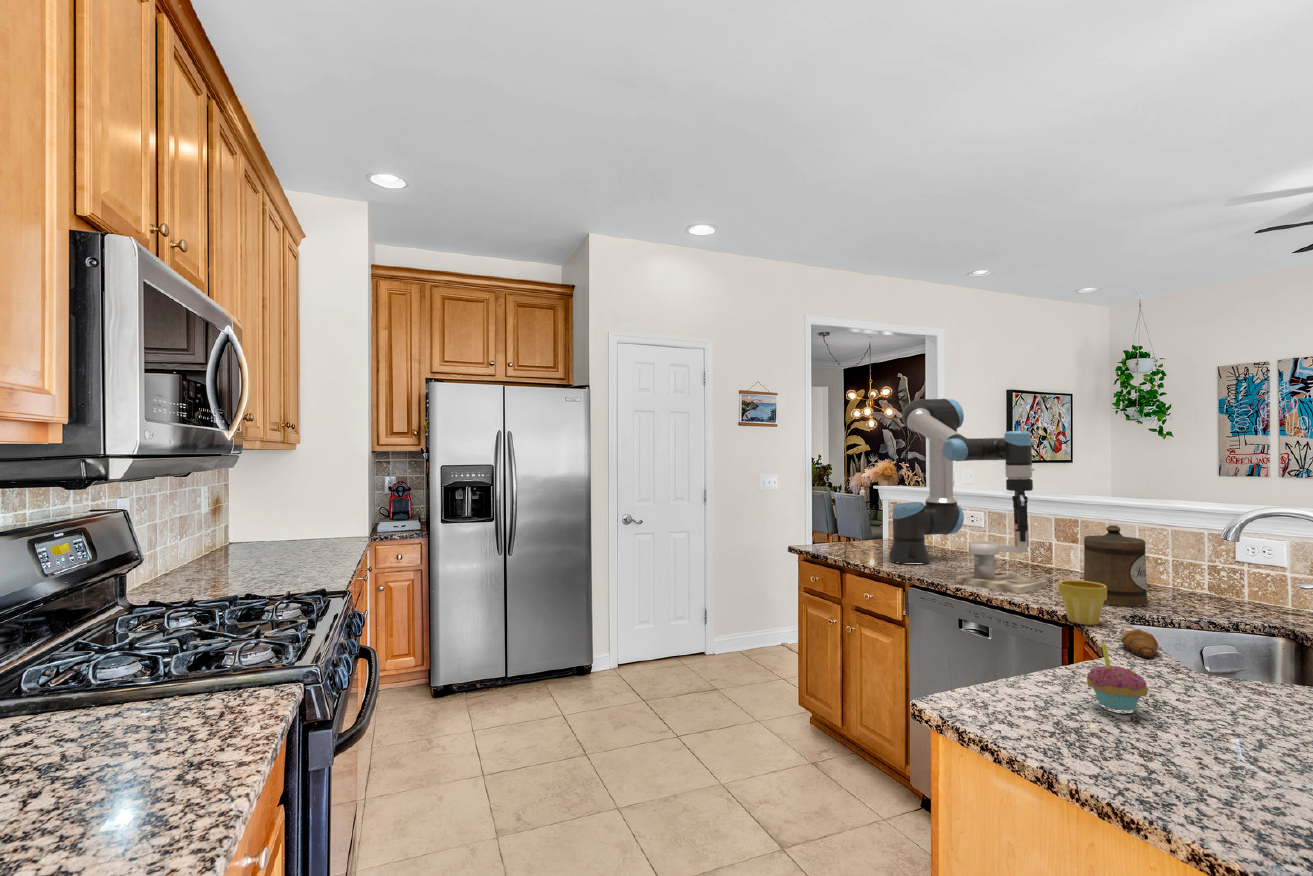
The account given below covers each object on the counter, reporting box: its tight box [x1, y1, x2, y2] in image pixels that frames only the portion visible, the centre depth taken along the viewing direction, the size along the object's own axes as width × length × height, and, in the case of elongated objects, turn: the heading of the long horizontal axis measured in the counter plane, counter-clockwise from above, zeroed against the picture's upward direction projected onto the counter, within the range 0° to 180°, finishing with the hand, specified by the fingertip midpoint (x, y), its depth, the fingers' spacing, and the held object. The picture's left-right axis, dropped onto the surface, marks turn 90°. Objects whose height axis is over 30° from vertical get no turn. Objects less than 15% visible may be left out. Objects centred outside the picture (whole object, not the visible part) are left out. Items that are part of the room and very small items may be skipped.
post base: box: [955, 554, 1048, 595], centre depth 209 cm, size 21×16×10 cm
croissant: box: [1120, 628, 1159, 659], centre depth 141 cm, size 14×7×5 cm, turn 156°
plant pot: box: [1058, 579, 1107, 626], centre depth 164 cm, size 10×10×10 cm
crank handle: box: [968, 524, 1030, 556], centre depth 209 cm, size 18×9×10 cm, turn 64°
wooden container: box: [1083, 524, 1148, 607], centre depth 185 cm, size 15×15×22 cm
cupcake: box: [1086, 638, 1149, 711], centre depth 110 cm, size 9×8×12 cm
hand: (1021, 550), depth 206 cm, fingers closed on crank handle, 4 cm apart
